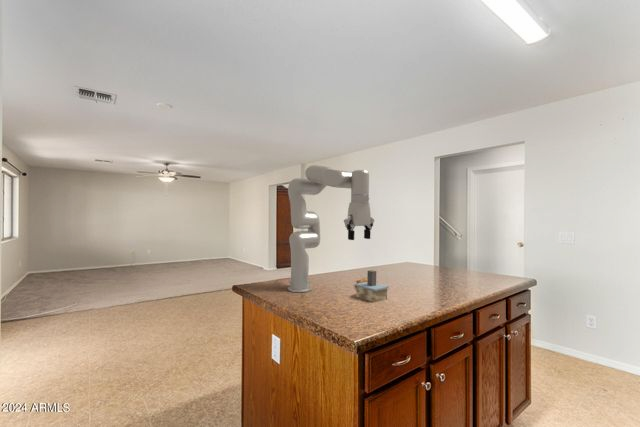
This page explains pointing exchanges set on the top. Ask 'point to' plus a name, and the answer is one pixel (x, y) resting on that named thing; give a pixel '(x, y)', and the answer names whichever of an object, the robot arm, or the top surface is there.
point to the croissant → (362, 280)
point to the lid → (371, 282)
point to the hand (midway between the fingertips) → (359, 239)
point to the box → (371, 294)
